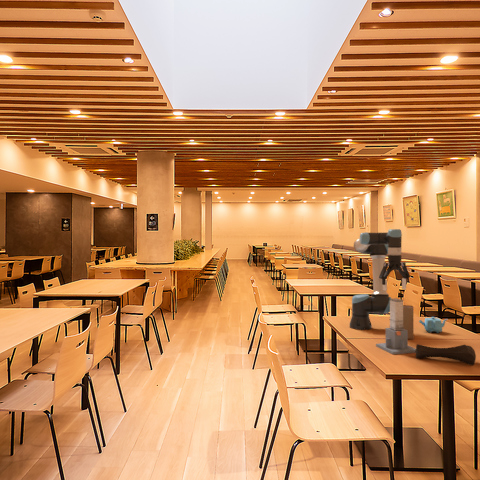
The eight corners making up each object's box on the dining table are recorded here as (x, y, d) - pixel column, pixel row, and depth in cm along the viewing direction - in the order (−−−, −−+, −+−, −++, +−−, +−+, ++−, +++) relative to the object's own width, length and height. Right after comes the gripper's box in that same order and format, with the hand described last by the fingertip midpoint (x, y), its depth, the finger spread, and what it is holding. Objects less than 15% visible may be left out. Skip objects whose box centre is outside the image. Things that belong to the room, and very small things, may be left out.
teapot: (420, 333, 250) (420, 318, 250) (417, 328, 263) (417, 314, 263) (450, 335, 245) (450, 319, 245) (445, 330, 258) (445, 315, 258)
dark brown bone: (477, 367, 190) (417, 366, 201) (472, 346, 195) (414, 347, 206) (479, 362, 181) (416, 362, 192) (474, 341, 186) (413, 342, 197)
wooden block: (413, 336, 242) (413, 305, 242) (413, 339, 233) (413, 308, 233) (396, 334, 247) (396, 304, 247) (396, 338, 238) (396, 306, 238)
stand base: (376, 346, 220) (376, 326, 220) (399, 344, 223) (399, 325, 223) (392, 354, 204) (392, 333, 204) (418, 352, 208) (418, 331, 208)
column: (389, 345, 216) (388, 298, 216) (397, 344, 217) (397, 298, 217) (395, 347, 210) (395, 300, 210) (404, 347, 211) (404, 300, 211)
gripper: (380, 255, 217) (380, 291, 218) (416, 254, 224) (416, 289, 224) (372, 254, 224) (372, 289, 225) (407, 253, 231) (407, 287, 231)
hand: (394, 289), depth 224 cm, fingers open, 13 cm apart
